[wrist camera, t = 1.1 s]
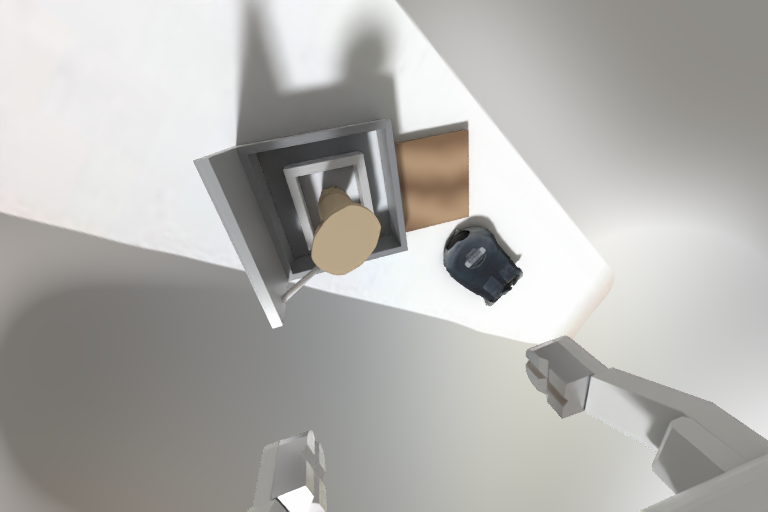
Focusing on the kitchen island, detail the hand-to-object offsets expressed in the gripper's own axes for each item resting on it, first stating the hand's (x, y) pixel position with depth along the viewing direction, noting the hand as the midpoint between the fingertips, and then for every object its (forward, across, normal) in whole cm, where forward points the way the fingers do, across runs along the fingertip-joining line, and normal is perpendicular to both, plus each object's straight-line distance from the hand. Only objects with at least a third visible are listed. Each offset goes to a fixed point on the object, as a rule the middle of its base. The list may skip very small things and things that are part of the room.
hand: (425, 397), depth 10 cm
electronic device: (+31, -18, +16) cm, 40 cm away
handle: (+30, +2, -1) cm, 30 cm away
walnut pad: (+30, -12, +1) cm, 33 cm away
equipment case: (+30, +2, -1) cm, 30 cm away
